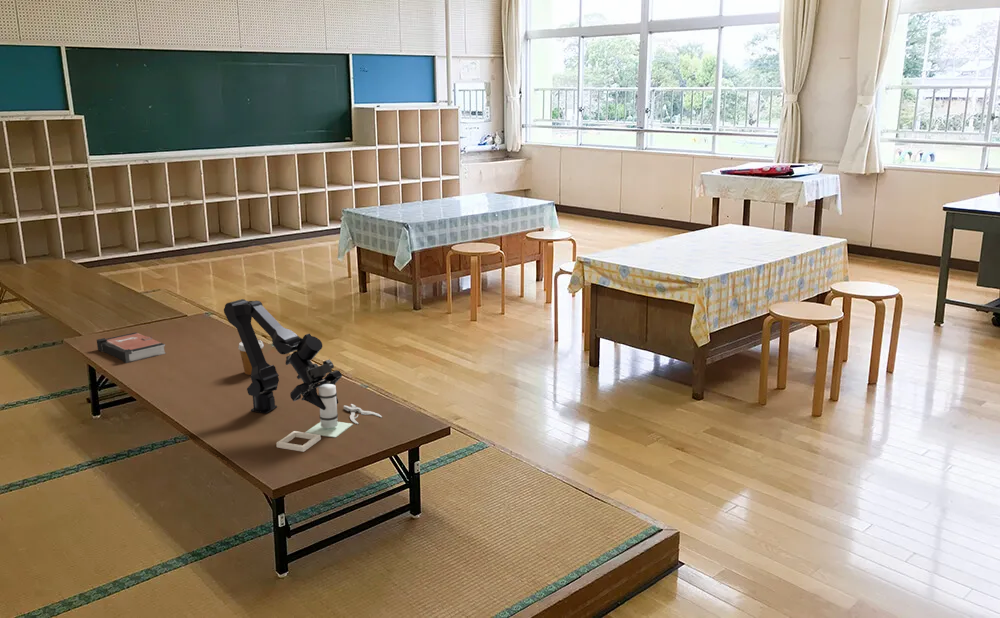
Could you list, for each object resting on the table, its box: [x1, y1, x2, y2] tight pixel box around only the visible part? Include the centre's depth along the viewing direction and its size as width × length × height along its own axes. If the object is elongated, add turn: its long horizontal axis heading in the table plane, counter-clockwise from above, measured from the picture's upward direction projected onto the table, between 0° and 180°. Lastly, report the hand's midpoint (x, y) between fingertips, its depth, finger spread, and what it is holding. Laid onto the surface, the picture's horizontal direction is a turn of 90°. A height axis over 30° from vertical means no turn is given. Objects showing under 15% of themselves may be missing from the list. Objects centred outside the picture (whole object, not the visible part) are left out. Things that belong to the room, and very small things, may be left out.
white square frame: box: [276, 430, 322, 453], centre depth 251 cm, size 10×10×2 cm
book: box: [96, 332, 167, 364], centre depth 340 cm, size 26×18×5 cm
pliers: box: [343, 403, 383, 425], centre depth 274 cm, size 10×2×15 cm
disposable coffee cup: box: [237, 339, 264, 376], centre depth 313 cm, size 10×10×12 cm
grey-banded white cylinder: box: [317, 384, 339, 428], centre depth 260 cm, size 6×6×13 cm
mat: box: [305, 421, 354, 439], centre depth 262 cm, size 11×11×1 cm
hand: (331, 406), depth 259 cm, fingers closed on grey-banded white cylinder, 5 cm apart
